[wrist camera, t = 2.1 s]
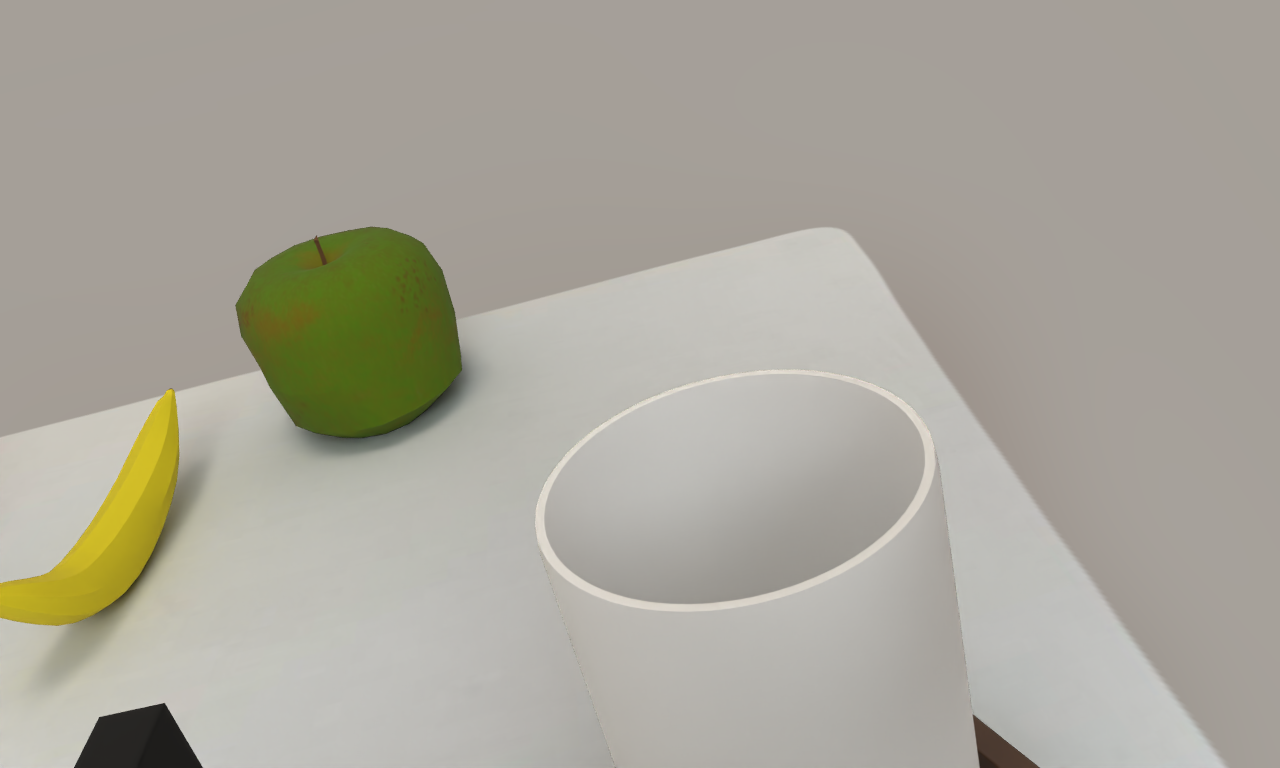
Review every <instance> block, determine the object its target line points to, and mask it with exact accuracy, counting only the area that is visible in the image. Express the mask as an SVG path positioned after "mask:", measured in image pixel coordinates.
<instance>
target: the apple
mask: <svg viewBox="0 0 1280 768" xmlns="http://www.w3.org/2000/svg"><path fill="white" fill-rule="evenodd" d="M236 311H237V316H238V321H239V327H240V332H241V336H242V338H243V340H244V341H245V343H246V345H247V346H248V348H249V350H250V351H251V353H252V355H253V356H254V358H255V359H256V361H257V363H258V364H259V366H260V368H261V370H262V372H263V374H264V376H265V378H266V380H267V382H268V384H269V386H270V388H271V390H272V391H273V393H274V394H275V395H276V397H277V398H278V400H279V401H280V403H281V404H282V406H283V407H284V409H285V410H286V412H287V413H288V415H289V416H290V418H291V419H292V421H293V422H294V423H295V425H296V426H298V427H301V428H304V429H306V430H309V431H312V432H314V433H318V434H324V435H330V436H336V437H342V438H364V437H369V436H375V435H380V434H386V433H388V432H390V431H393V430H395V429H397V428H400V427H402V426H404V425H407V424H409V423H410V422H411V421H413V420H414V419H415V418H417V417H418V416H419V415H420V414H422V413H423V412H424V411H426V410H427V409H428V408H429V407H430V406H431V404H432V403H433V402H434V401H435V400H436V399H437V398H438V397H439V396H440V395H441V394H442V393H443V392H444V391H445V390H446V389H447V388H448V387H449V385H450V384H451V383H452V382H453V381H454V379H455V378H456V377H457V376H458V374H459V373H460V372H461V371H462V364H461V352H460V345H459V338H458V331H457V324H456V317H455V311H454V308H453V305H452V301H451V298H450V295H449V291H448V288H447V285H446V281H445V278H444V275H443V271H442V269H441V268H440V266H439V265H438V263H437V262H436V261H435V259H434V258H433V256H432V255H431V254H430V252H429V251H428V249H427V248H426V246H425V245H424V244H423V243H422V242H420V241H418V240H417V239H415V238H413V237H411V236H409V235H406V234H403V233H400V232H397V231H394V230H392V229H388V228H380V227H366V228H360V229H355V230H348V231H344V232H339V233H335V234H330V235H326V236H321V237H318V238H317V236H316V237H315V239H312V240H309V241H307V242H303V243H300V244H298V245H294V246H293V247H291V248H289V249H287V250H285V251H284V252H282V253H280V254H278V255H276V256H274V257H273V258H271V259H270V260H268V261H267V262H265V263H264V264H263V265H261V266H260V267H258V268H257V269H256V270H255V271H254V272H253V275H252V276H251V278H250V280H249V282H248V284H247V286H246V288H245V289H244V291H243V293H242V295H241V296H240V298H239V300H238V302H237V303H236Z"/></svg>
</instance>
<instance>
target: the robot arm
mask: <svg viewBox="0 0 1280 768" xmlns="http://www.w3.org/2000/svg"><path fill="white" fill-rule="evenodd" d="M74 768H203V767H202V766H201V764H200V762H199V760H198V759H197V757H196V755H195V754H194V752H193V750H192V749H191V747H190V745H189V743H188V742H187V740H186V738H185V737H184V735H183V733H182V732H181V730H180V728H179V727H178V725H177V723H176V721H175V720H174V718H173V716H172V715H171V713H170V711H169V710H168V708H167V706H166V705H165V703H163V704H158V705H154V706H149V707H144V708H140V709H135V710H130V711H126V712H121V713H116V714H112V715H107V716H103V717H99V719H98V721H97V723H96V725H95V727H94V729H93V731H92V733H91V735H90V737H89V739H88V741H87V743H86V745H85V747H84V749H83V751H82V753H81V755H80V757H79V759H78V761H77V763H76V765H75V767H74Z"/></svg>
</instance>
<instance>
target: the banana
mask: <svg viewBox="0 0 1280 768" xmlns="http://www.w3.org/2000/svg"><path fill="white" fill-rule="evenodd" d="M178 465H179V429H178V417H177V406H176V399H175V392H174V390H173V389H169V390H167V391H166V393H165V395H164V396H163V397H162V398H161V399H160V400H159V401H157V403H156V405H155V407H154V408H153V410H152V412H151V413H150V415H149V417H148V419H147V420H146V422H145V424H144V426H143V428H142V430H141V431H140V433H139V435H138V437H137V439H136V441H135V443H134V445H133V447H132V449H131V451H130V453H129V455H128V457H127V459H126V461H125V463H124V465H123V468H122V470H121V472H120V474H119V476H118V478H117V480H116V481H115V483H114V485H113V487H112V488H111V490H110V492H109V494H108V496H107V497H106V499H105V501H104V502H103V504H102V506H101V507H100V509H99V511H98V512H97V514H96V515H95V517H94V519H93V520H92V522H91V523H90V525H89V526H88V528H87V529H86V530H85V532H84V533H83V535H82V536H81V537H80V539H79V540H78V542H77V543H76V544H75V546H74V547H73V548H72V549H71V550H70V551H69V553H68V554H67V555H66V556H65V557H64V559H63V560H62V561H61V562H60V563H59V564H58V565H57V566H56V567H55V568H53V569H52V570H51V571H50V572H49V573H46V574H44V575H41V576H37V577H32V578H27V579H21V580H14V581H8V582H3V583H0V618H4V619H8V620H12V621H17V622H24V623H31V624H38V625H56V626H59V625H65V624H71V623H76V622H78V621H81V620H83V619H86V618H88V617H90V616H93V615H94V614H96V613H98V612H99V611H101V610H102V609H104V608H105V607H107V606H109V605H110V604H111V603H113V602H114V601H115V600H116V599H118V598H119V597H120V596H121V595H123V594H124V593H125V592H126V591H127V589H128V588H129V587H130V586H131V585H132V583H133V582H134V581H135V580H136V578H137V577H138V576H139V575H140V573H141V571H142V569H143V568H144V566H145V564H146V562H147V561H148V559H149V557H150V556H151V554H152V552H153V550H154V547H155V545H156V543H157V540H158V538H159V536H160V533H161V531H162V529H163V526H164V523H165V520H166V517H167V514H168V511H169V508H170V505H171V502H172V498H173V494H174V490H175V486H176V482H177V474H178Z"/></svg>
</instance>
